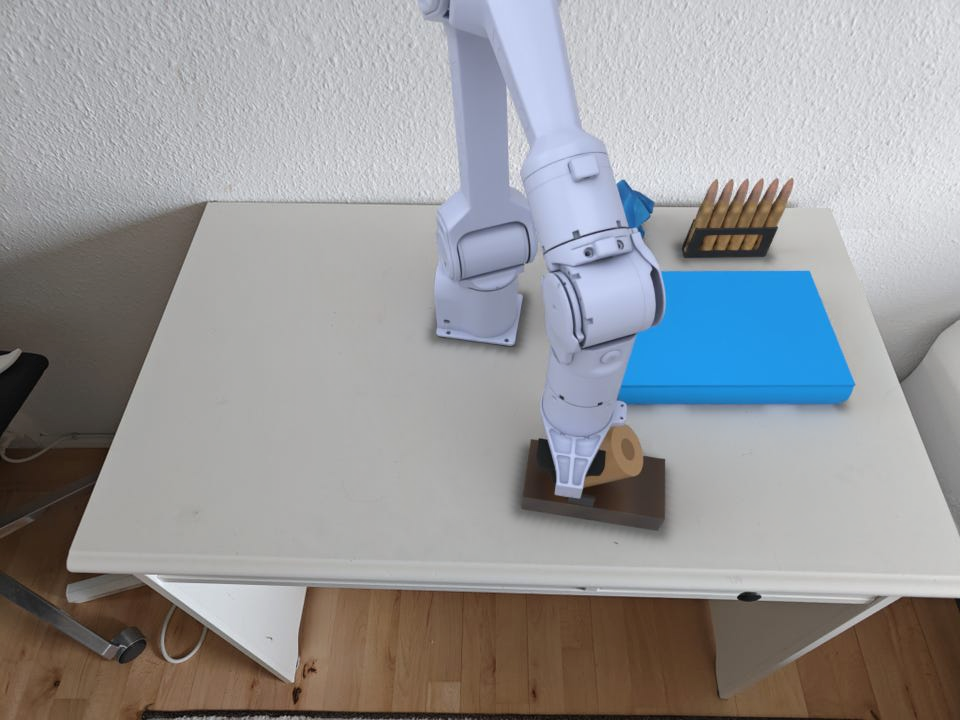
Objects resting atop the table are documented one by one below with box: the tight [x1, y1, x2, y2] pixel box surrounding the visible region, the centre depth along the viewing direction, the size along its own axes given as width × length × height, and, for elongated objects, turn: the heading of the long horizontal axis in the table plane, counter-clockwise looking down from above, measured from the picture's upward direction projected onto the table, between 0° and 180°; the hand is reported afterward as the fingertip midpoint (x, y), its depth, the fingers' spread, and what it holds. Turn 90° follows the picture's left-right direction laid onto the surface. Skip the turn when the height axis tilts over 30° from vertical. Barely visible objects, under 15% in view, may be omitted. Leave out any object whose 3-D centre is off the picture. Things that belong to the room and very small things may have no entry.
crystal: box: [616, 179, 655, 241], centre depth 82 cm, size 7×9×12 cm
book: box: [617, 270, 856, 405], centre depth 73 cm, size 17×4×25 cm
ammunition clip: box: [681, 177, 795, 259], centre depth 79 cm, size 11×2×12 cm, turn 91°
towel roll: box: [583, 423, 644, 488], centre depth 59 cm, size 7×5×5 cm
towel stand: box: [520, 438, 666, 531], centre depth 63 cm, size 14×6×5 cm, turn 80°
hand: (566, 456), depth 59 cm, fingers closed on towel roll, 4 cm apart
